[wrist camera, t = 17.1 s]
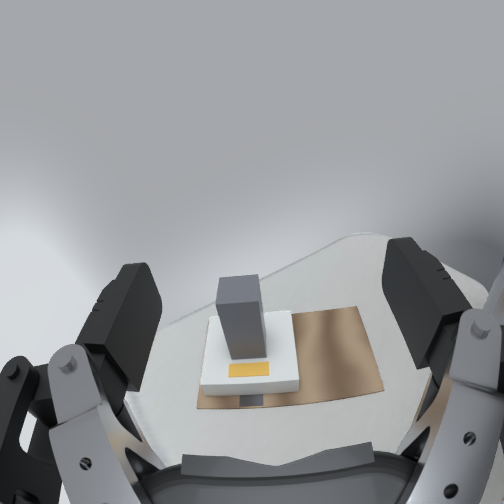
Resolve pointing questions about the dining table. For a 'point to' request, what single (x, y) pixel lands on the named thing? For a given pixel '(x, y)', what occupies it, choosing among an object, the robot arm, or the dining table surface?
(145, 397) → the dining table surface
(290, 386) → the block on square base
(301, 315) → the subfloor panel
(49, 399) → the robot arm
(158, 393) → the dining table surface
